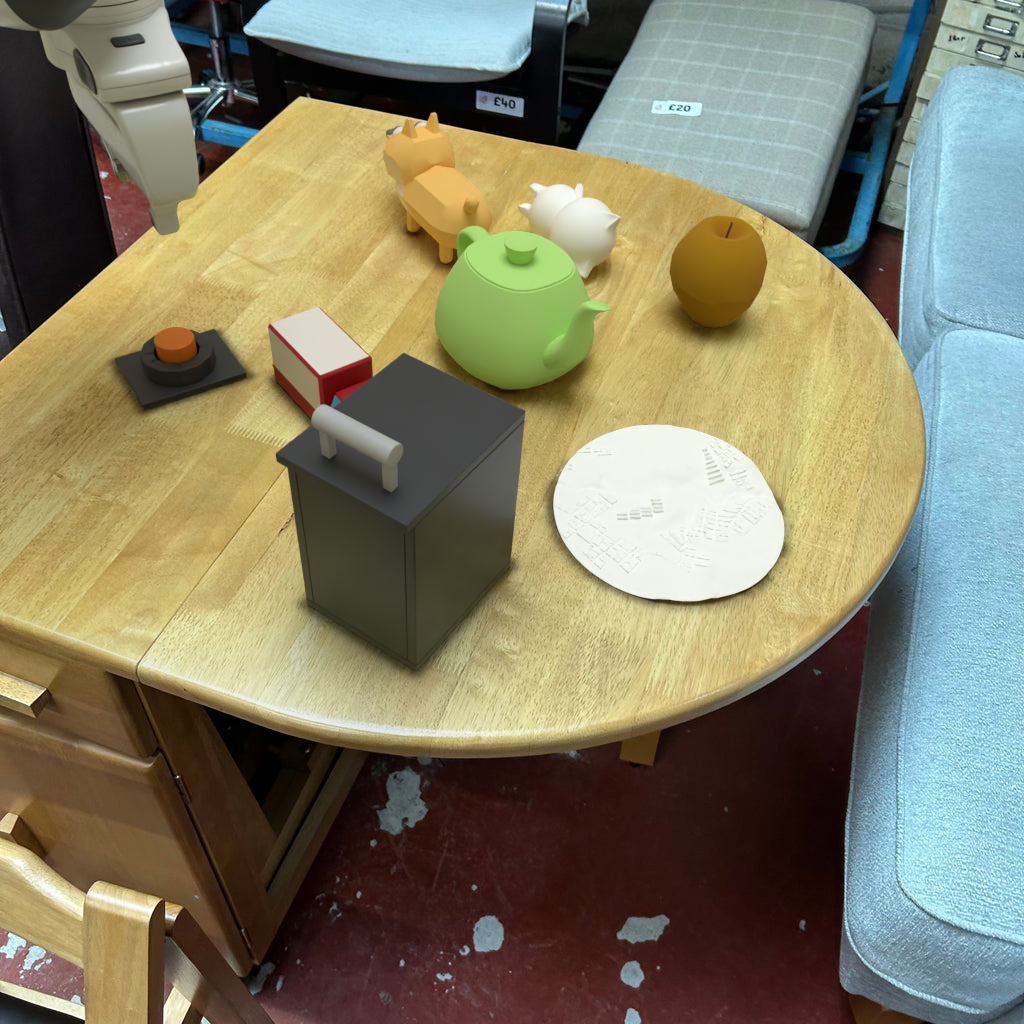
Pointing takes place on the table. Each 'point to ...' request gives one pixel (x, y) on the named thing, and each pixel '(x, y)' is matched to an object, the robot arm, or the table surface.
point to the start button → (175, 345)
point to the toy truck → (317, 360)
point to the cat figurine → (573, 223)
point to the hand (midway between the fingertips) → (146, 203)
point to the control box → (179, 371)
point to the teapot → (514, 309)
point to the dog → (433, 184)
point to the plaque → (668, 514)
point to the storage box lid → (401, 440)
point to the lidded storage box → (409, 557)
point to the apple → (718, 270)
